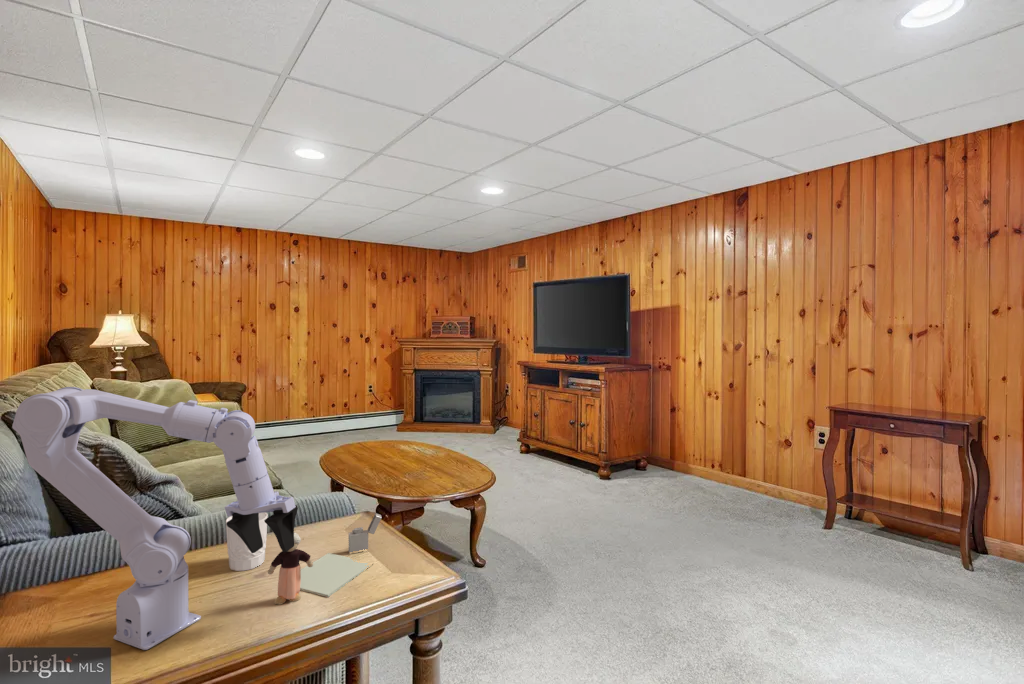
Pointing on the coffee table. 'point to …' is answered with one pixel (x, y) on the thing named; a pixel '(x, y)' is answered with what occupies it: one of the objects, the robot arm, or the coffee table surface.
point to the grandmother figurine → (290, 572)
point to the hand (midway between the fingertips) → (272, 549)
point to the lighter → (362, 535)
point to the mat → (329, 574)
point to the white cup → (245, 548)
